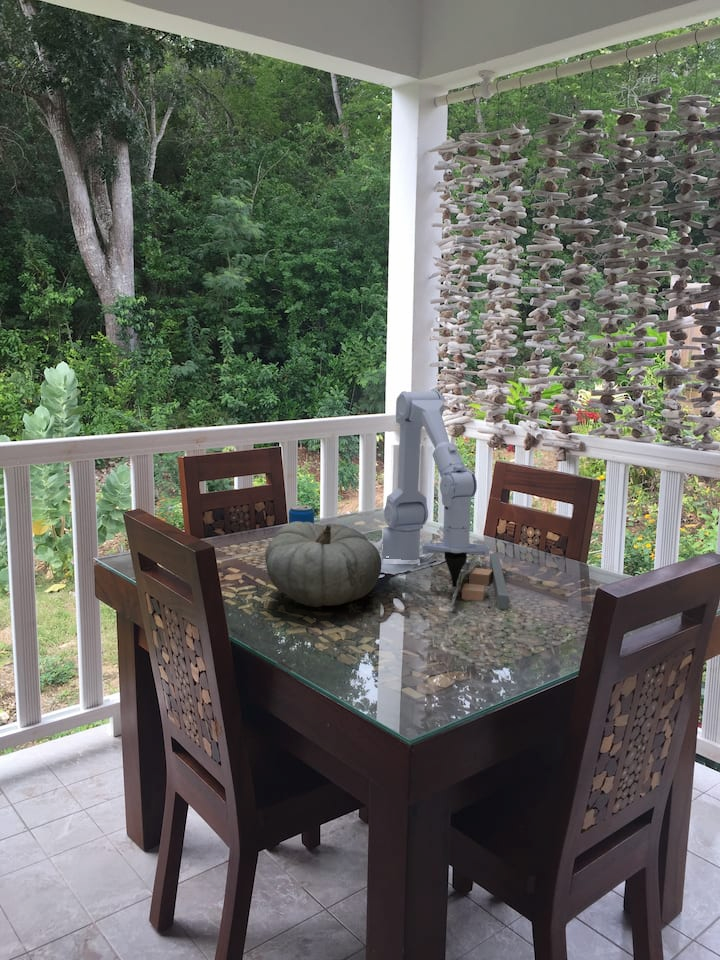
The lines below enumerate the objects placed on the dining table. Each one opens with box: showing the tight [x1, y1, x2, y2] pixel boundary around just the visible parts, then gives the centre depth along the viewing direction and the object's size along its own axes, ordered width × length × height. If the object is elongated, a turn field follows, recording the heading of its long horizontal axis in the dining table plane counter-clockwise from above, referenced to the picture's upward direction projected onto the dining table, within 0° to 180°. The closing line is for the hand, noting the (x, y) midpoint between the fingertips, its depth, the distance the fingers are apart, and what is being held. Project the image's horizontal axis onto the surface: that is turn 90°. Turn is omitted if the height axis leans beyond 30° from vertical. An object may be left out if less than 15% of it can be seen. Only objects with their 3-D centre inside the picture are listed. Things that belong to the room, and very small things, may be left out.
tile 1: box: [461, 582, 487, 602], centre depth 179 cm, size 4×4×2 cm
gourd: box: [264, 521, 382, 608], centre depth 175 cm, size 25×25×17 cm
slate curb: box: [489, 553, 509, 610], centre depth 187 cm, size 2×32×3 cm, turn 174°
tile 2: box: [468, 567, 493, 586], centre depth 190 cm, size 4×4×2 cm
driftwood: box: [450, 555, 479, 609], centre depth 186 cm, size 37×2×5 cm
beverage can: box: [288, 504, 315, 524], centre depth 212 cm, size 6×6×12 cm
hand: (454, 585), depth 182 cm, fingers closed, pressing on driftwood
